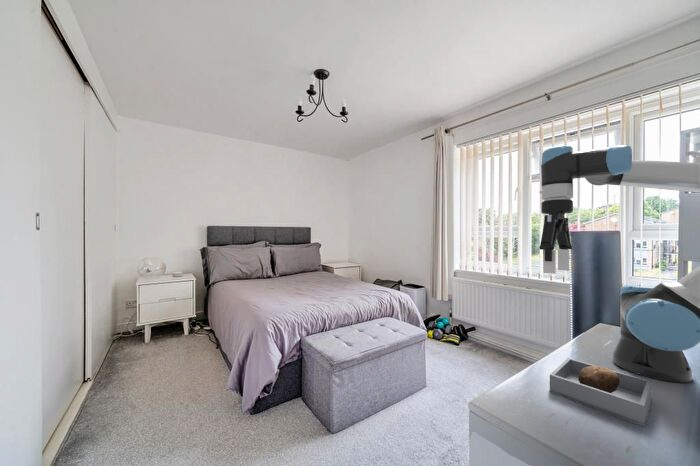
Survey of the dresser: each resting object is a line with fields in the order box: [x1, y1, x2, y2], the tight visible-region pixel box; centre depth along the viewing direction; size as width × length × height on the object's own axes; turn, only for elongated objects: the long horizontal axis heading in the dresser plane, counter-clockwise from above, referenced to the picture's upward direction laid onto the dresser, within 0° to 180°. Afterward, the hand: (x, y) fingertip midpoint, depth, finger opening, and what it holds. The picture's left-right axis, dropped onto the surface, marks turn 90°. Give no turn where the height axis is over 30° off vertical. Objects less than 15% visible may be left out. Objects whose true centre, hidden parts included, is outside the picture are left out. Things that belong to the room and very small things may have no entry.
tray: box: [549, 357, 653, 427], centre depth 64 cm, size 15×15×4 cm
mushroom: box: [578, 365, 620, 393], centre depth 64 cm, size 8×8×6 cm
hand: (556, 271), depth 82 cm, fingers open, 13 cm apart
